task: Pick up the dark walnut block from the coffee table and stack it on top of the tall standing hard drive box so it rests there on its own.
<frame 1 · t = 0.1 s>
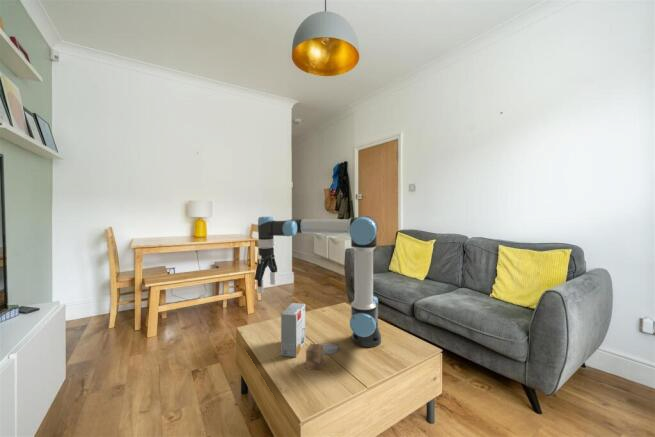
hand: (267, 288, 136), 28 cm above the table, fingers open, 13 cm apart
hard drive box: (294, 348, 132), on the table
walnut block: (315, 365, 118), on the table
slate coaster: (328, 349, 131), on the table
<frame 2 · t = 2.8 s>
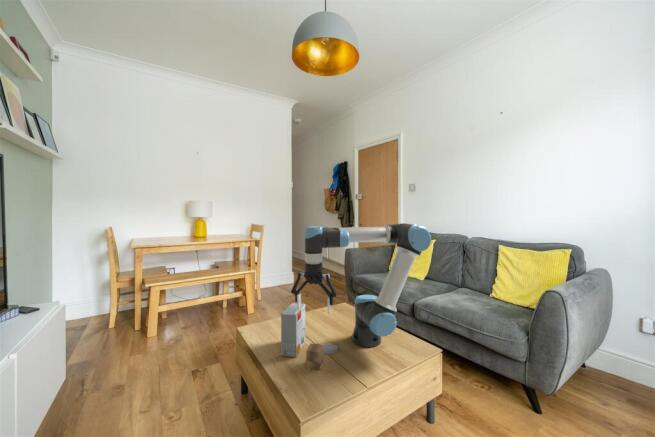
hand: (313, 310, 116), 25 cm above the table, fingers open, 13 cm apart
nothing on the table moved.
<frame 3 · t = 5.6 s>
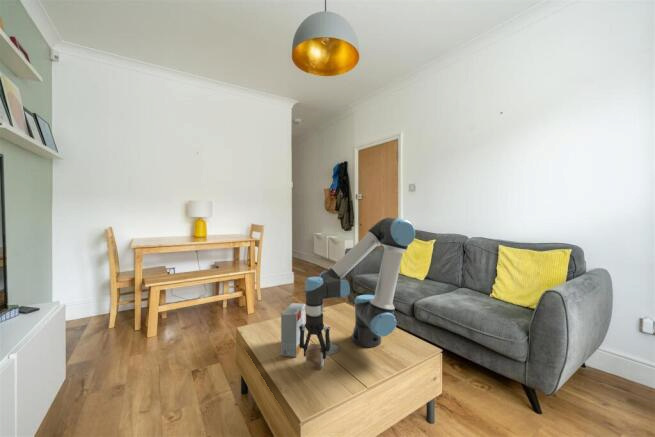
hand: (314, 364, 118), 0 cm above the table, fingers closed on walnut block, 6 cm apart
walnut block: (315, 365, 118), on the table, touching gripper
everything else where it was.
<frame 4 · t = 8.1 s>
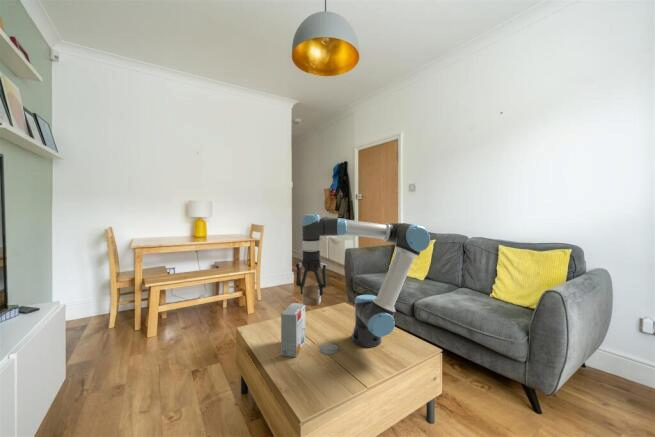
hand: (311, 301, 118), 28 cm above the table, fingers closed on walnut block, 6 cm apart
walnut block: (311, 303, 118), point 27 cm above the table, touching gripper
everything else where it was.
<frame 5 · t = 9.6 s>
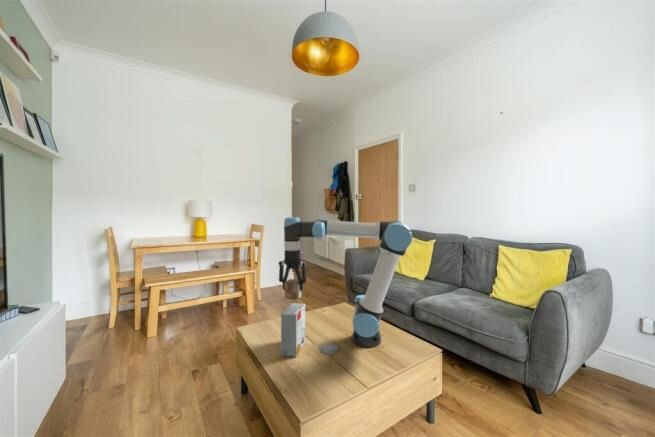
hand: (293, 296, 130), 26 cm above the table, fingers closed on walnut block, 6 cm apart
walnut block: (292, 297, 130), point 26 cm above the table, touching gripper
everything else where it was.
when the fingers open (22 cm above the table, at t = 10.8 s): walnut block drops 1 cm, resting on hard drive box.
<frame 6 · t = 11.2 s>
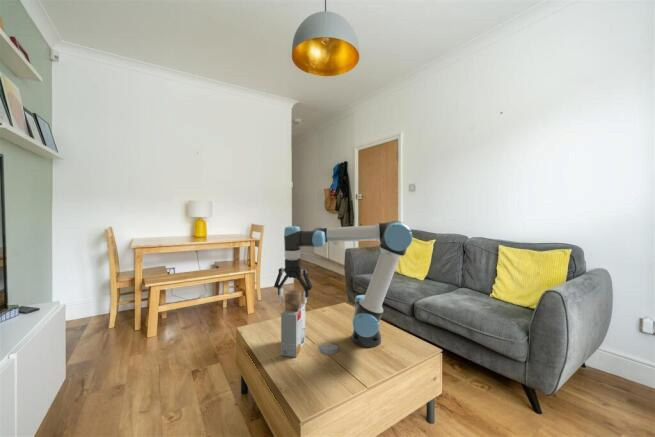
hand: (293, 302, 131), 23 cm above the table, fingers open, 11 cm apart
hard drive box: (294, 348, 132), on the table, touching walnut block
walnut block: (293, 308, 131), point 20 cm above the table, touching hard drive box
everything else where it was.
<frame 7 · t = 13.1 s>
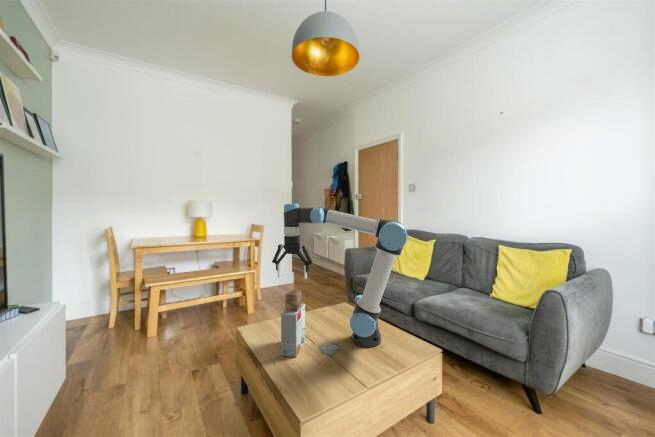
hand: (292, 277, 133), 34 cm above the table, fingers open, 13 cm apart
nothing on the table moved.
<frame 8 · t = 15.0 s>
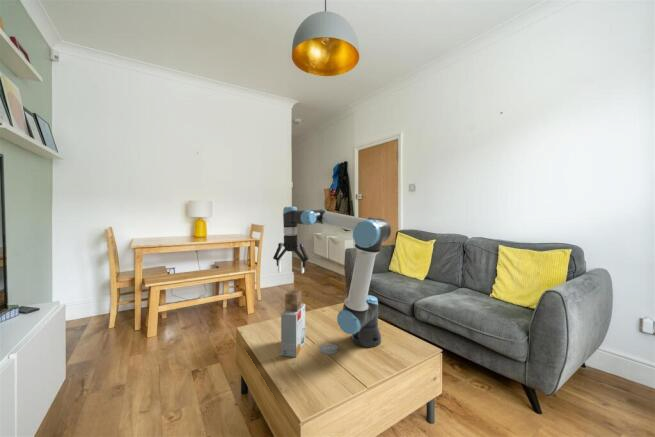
hand: (291, 272, 149), 33 cm above the table, fingers open, 13 cm apart
nothing on the table moved.
at the end: walnut block inside the target area in the hard drive box (0.1 cm from its centre), point 20.1 cm above the hard drive box's base; walnut block tilted 0°; the gripper is holding nothing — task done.
